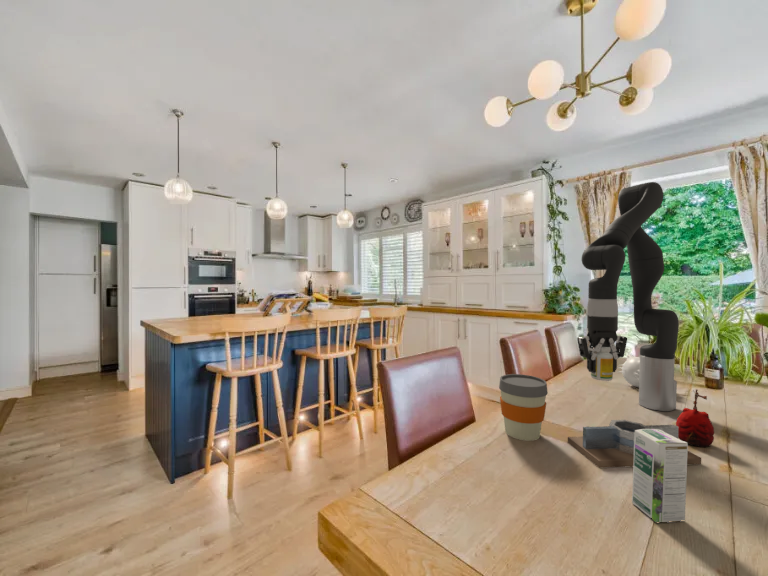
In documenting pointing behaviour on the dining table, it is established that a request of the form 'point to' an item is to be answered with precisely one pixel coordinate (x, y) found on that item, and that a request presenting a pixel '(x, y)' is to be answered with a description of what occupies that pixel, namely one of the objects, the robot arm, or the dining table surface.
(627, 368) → the cat head
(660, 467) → the syrup box
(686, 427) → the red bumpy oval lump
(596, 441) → the grey winged octagonal holder
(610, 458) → the board
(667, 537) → the dining table surface
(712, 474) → the dining table surface
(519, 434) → the reusable coffee cup
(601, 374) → the supplement bottle
